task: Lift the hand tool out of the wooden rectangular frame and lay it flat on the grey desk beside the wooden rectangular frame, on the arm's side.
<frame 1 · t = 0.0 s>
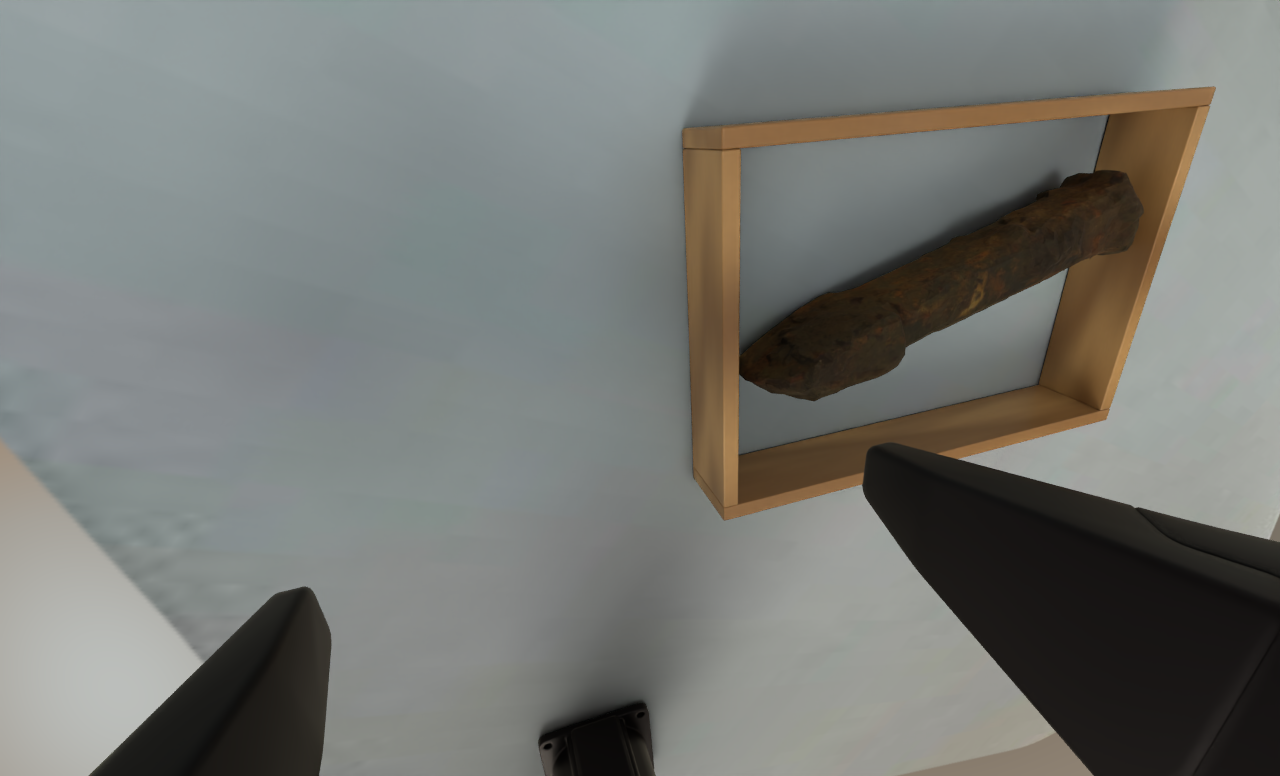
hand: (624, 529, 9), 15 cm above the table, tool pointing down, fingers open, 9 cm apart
wooden rectangular frame: (903, 290, 27), on the table
hand tool: (900, 289, 27), resting in wooden rectangular frame
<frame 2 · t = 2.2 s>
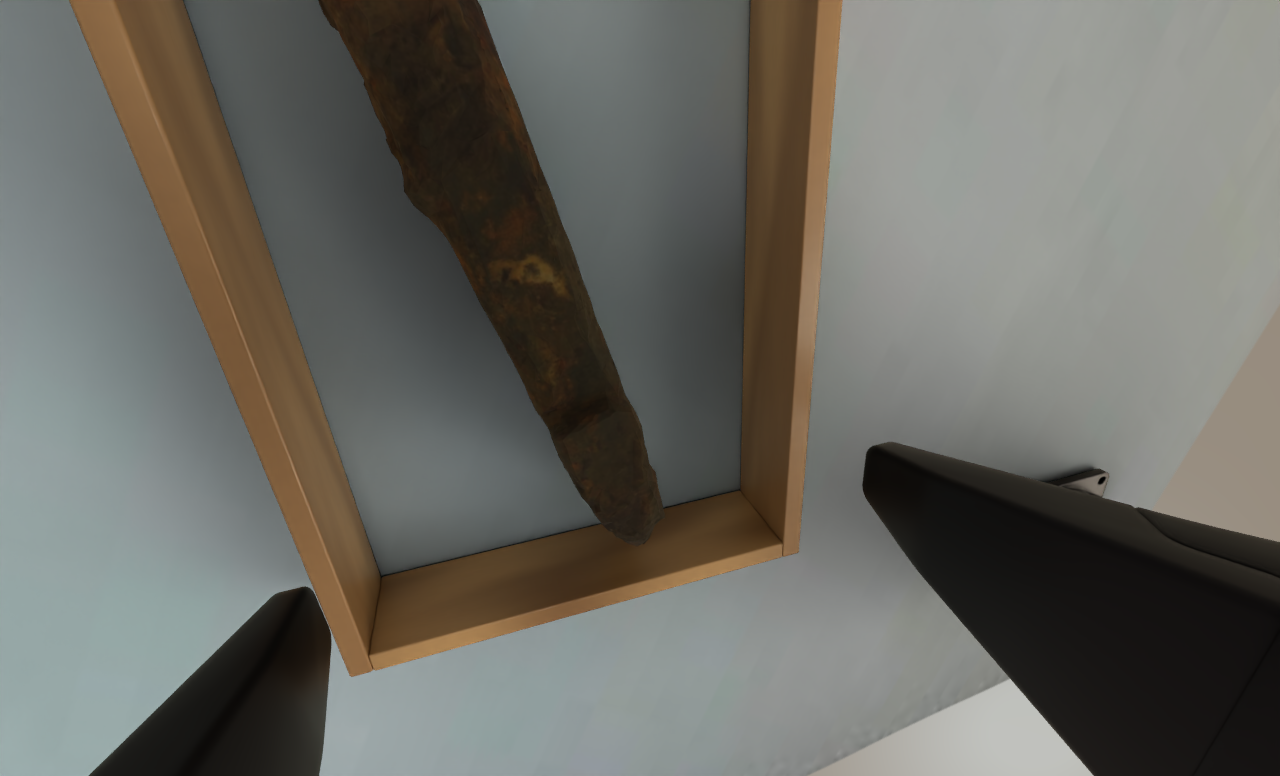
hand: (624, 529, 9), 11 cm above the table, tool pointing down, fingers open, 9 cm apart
wooden rectangular frame: (538, 265, 18), on the table
hand tool: (537, 264, 18), resting in wooden rectangular frame
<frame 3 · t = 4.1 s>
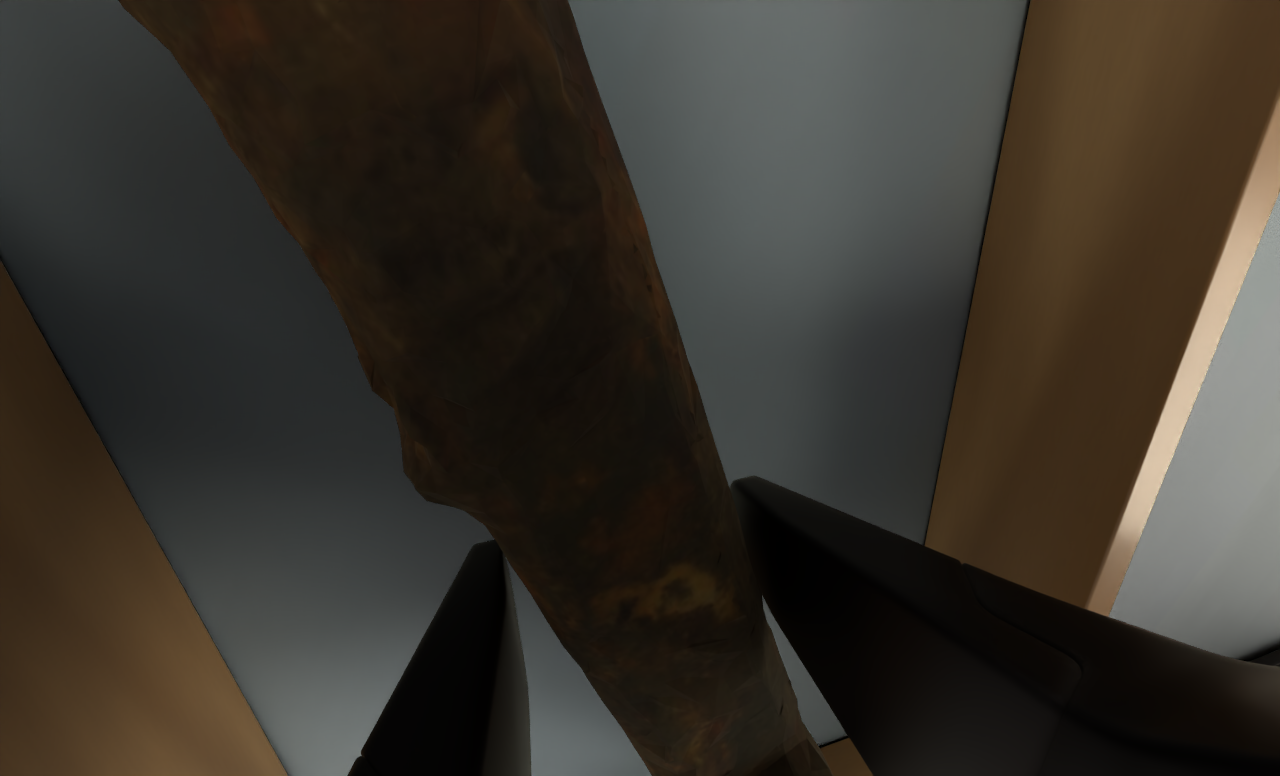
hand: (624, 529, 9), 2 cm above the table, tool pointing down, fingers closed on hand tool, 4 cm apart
wooden rectangular frame: (626, 475, 10), on the table
hand tool: (623, 472, 10), resting in wooden rectangular frame, touching gripper
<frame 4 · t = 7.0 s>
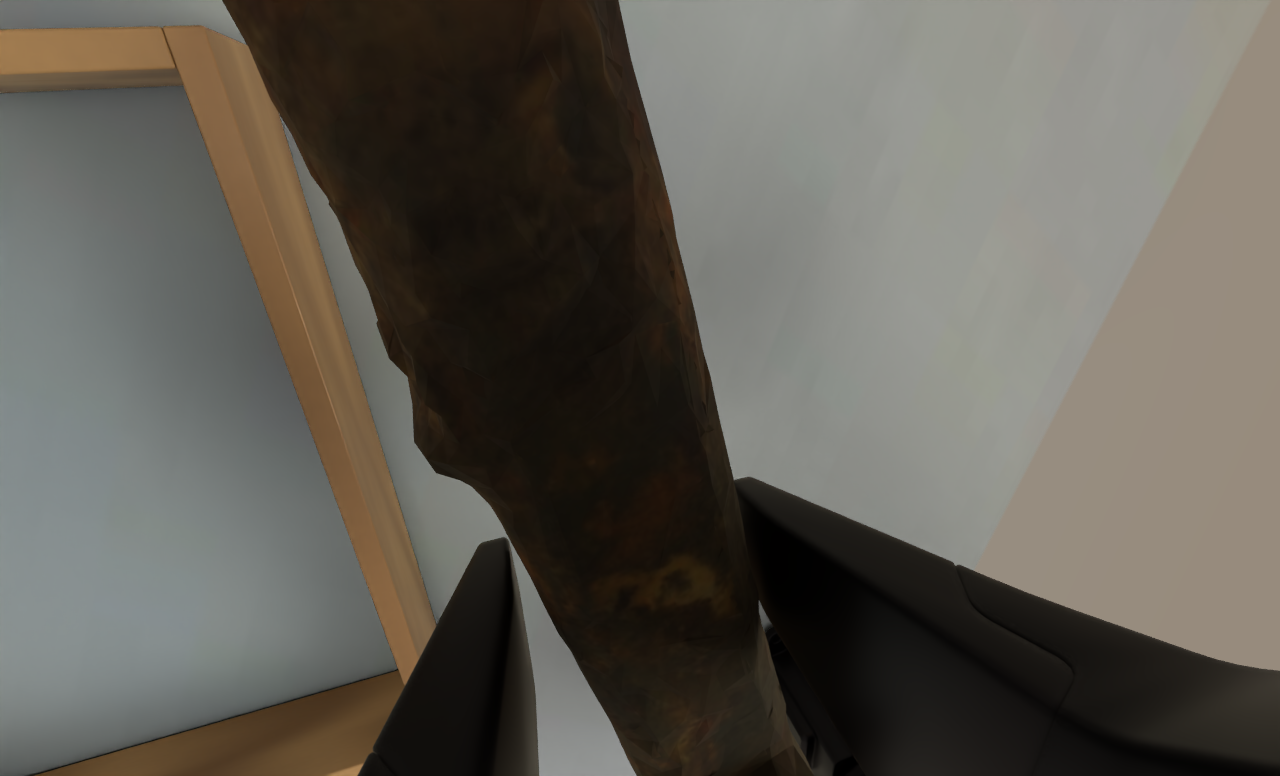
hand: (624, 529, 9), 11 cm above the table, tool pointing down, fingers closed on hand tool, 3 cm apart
wooden rectangular frame: (98, 493, 17), on the table
hand tool: (624, 467, 10), point 10 cm above the table, touching gripper
when the fingers open (1 cm above the table, at t = 9.7 s): hand tool stays where it is, on the table.
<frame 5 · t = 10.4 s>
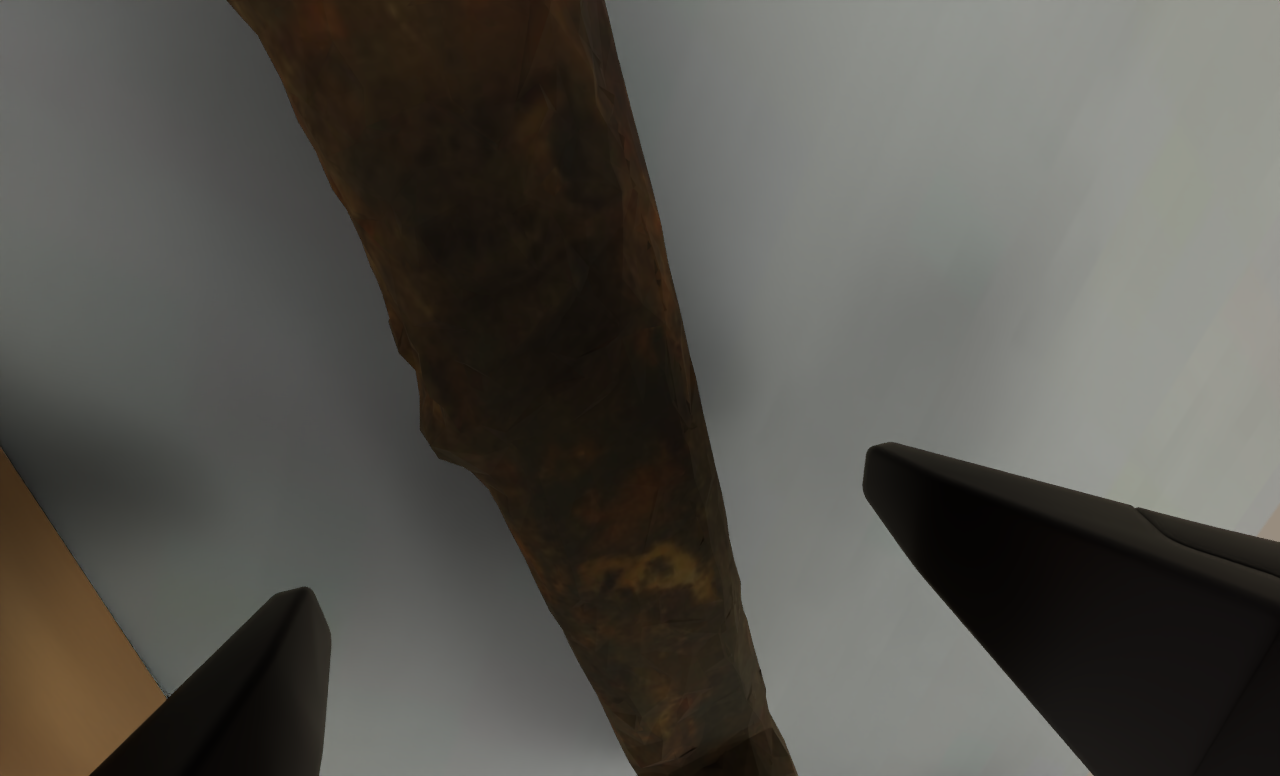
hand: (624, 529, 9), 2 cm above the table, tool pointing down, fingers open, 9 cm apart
hand tool: (622, 459, 11), on the table
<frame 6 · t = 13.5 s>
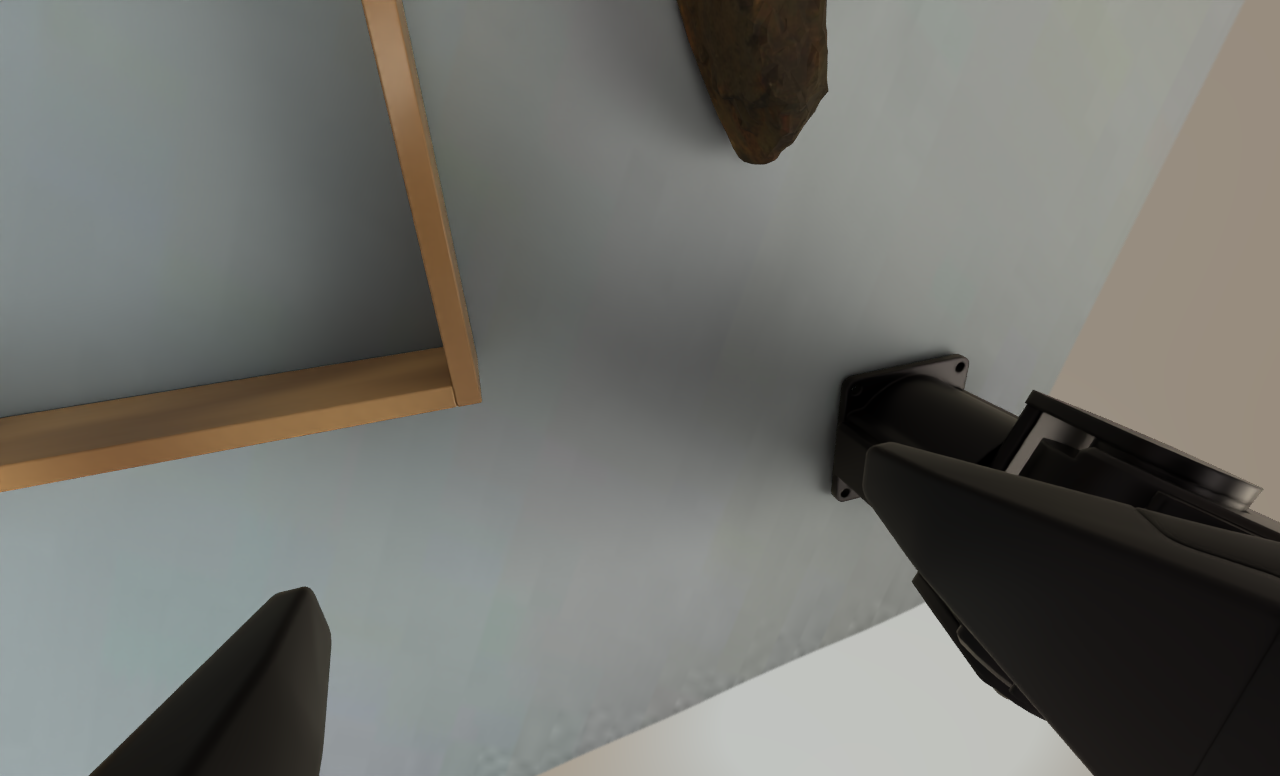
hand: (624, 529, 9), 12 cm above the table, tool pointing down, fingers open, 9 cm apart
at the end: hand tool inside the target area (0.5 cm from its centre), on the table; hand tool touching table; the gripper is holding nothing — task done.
